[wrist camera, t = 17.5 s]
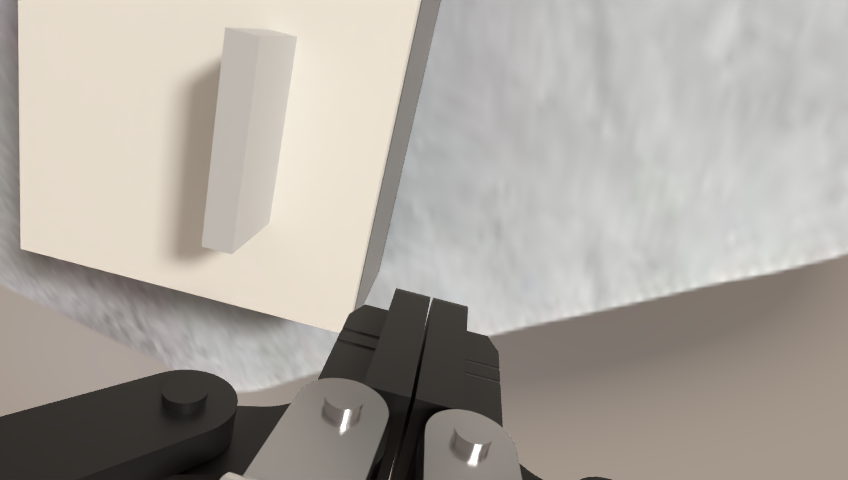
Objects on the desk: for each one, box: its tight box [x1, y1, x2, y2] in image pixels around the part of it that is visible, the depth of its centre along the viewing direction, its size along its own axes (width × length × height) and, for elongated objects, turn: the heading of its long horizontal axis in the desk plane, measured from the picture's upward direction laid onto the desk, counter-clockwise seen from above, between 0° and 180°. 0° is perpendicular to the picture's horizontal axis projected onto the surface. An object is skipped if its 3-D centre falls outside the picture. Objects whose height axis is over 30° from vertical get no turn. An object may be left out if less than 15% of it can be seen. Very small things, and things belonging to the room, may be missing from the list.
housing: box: [354, 0, 441, 311], centre depth 29 cm, size 16×18×8 cm
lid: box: [18, 0, 421, 333], centre depth 23 cm, size 16×17×5 cm
